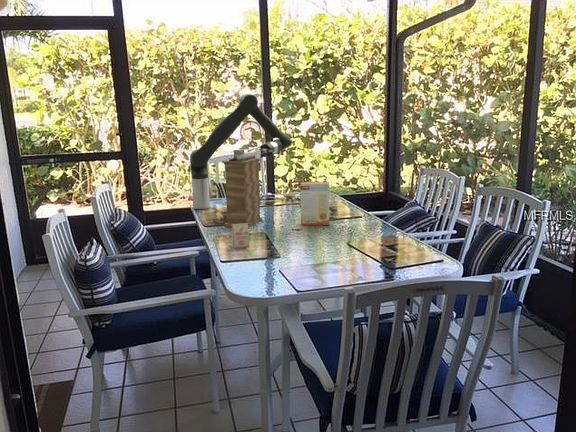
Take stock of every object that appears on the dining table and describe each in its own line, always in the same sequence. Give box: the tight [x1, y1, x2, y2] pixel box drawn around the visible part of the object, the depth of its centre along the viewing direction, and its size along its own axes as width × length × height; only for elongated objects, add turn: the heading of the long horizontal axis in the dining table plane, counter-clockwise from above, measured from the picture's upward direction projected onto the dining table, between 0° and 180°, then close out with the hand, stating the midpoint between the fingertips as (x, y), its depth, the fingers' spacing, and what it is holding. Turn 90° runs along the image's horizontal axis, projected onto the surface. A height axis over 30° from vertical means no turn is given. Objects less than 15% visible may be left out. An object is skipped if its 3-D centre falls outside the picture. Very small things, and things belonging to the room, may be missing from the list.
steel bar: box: [233, 149, 261, 161], centre depth 248 cm, size 22×4×5 cm, turn 157°
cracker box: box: [300, 181, 330, 226], centre depth 245 cm, size 14×6×21 cm, turn 84°
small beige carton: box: [230, 223, 250, 249], centre depth 210 cm, size 4×7×10 cm, turn 105°
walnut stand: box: [223, 156, 264, 229], centre depth 247 cm, size 18×12×33 cm, turn 157°
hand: (254, 155), depth 267 cm, fingers open, 8 cm apart
